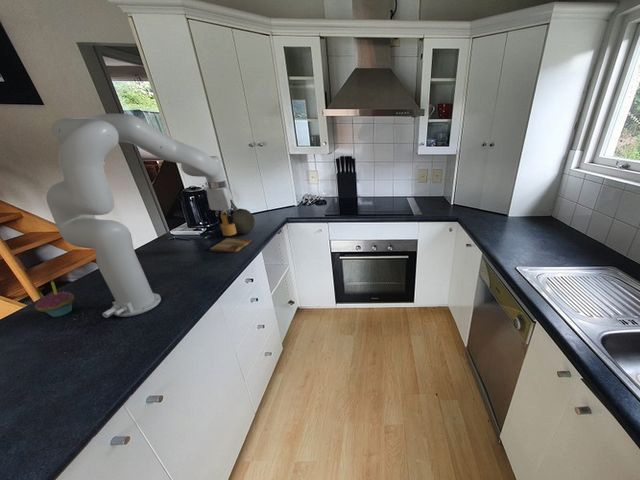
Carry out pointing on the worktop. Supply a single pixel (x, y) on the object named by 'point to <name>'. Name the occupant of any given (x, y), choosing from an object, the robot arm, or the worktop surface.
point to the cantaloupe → (243, 221)
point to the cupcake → (55, 303)
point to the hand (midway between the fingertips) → (227, 222)
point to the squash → (227, 225)
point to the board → (230, 245)
